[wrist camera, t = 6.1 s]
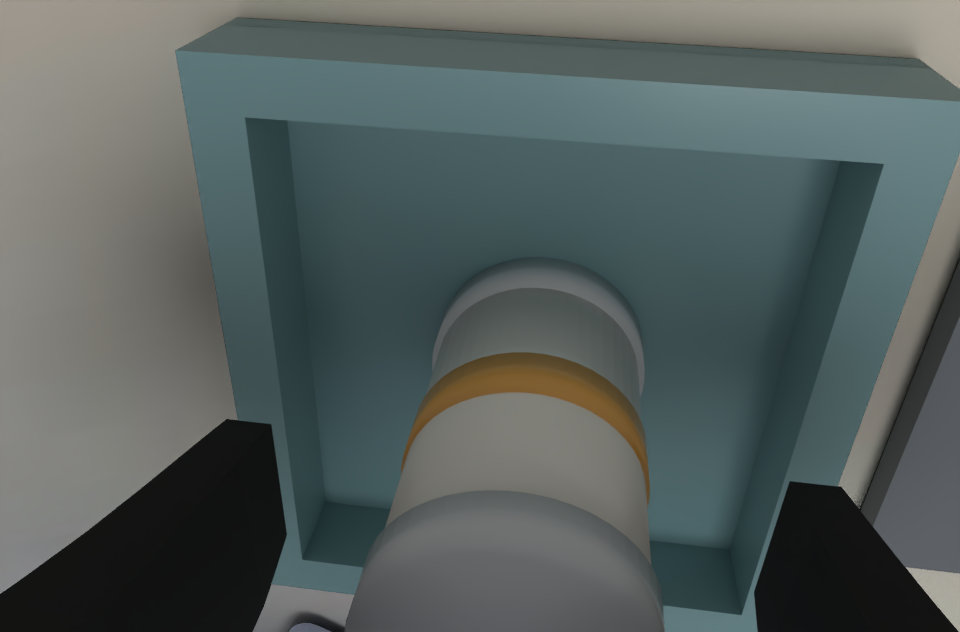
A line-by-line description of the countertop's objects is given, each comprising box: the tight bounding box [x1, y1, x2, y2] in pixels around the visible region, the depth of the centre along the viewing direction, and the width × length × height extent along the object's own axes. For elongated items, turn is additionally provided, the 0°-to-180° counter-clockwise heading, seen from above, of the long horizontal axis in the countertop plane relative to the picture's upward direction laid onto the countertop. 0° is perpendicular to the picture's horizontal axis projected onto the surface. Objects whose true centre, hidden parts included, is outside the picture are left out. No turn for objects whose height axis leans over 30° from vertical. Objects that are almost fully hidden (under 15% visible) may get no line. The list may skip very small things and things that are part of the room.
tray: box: [175, 18, 960, 632], centre depth 13 cm, size 10×10×2 cm
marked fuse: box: [345, 257, 665, 632], centre depth 11 cm, size 3×3×6 cm
